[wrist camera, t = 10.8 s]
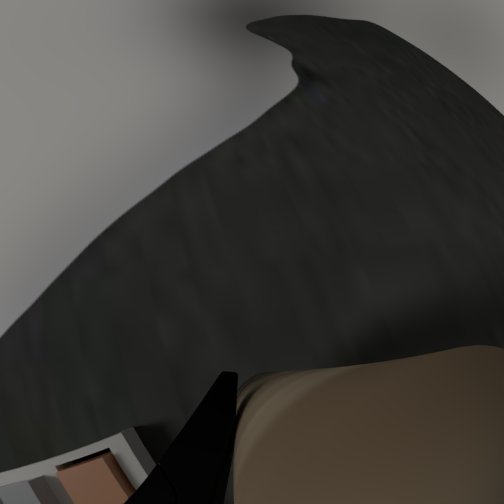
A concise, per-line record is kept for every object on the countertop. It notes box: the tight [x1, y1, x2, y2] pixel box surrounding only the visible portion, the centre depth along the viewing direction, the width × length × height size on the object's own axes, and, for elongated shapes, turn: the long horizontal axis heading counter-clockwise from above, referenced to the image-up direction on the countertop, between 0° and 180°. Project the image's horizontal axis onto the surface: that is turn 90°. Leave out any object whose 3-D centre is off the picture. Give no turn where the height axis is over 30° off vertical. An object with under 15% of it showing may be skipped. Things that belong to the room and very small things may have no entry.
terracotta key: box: [56, 451, 136, 504], centre depth 14 cm, size 4×4×3 cm
